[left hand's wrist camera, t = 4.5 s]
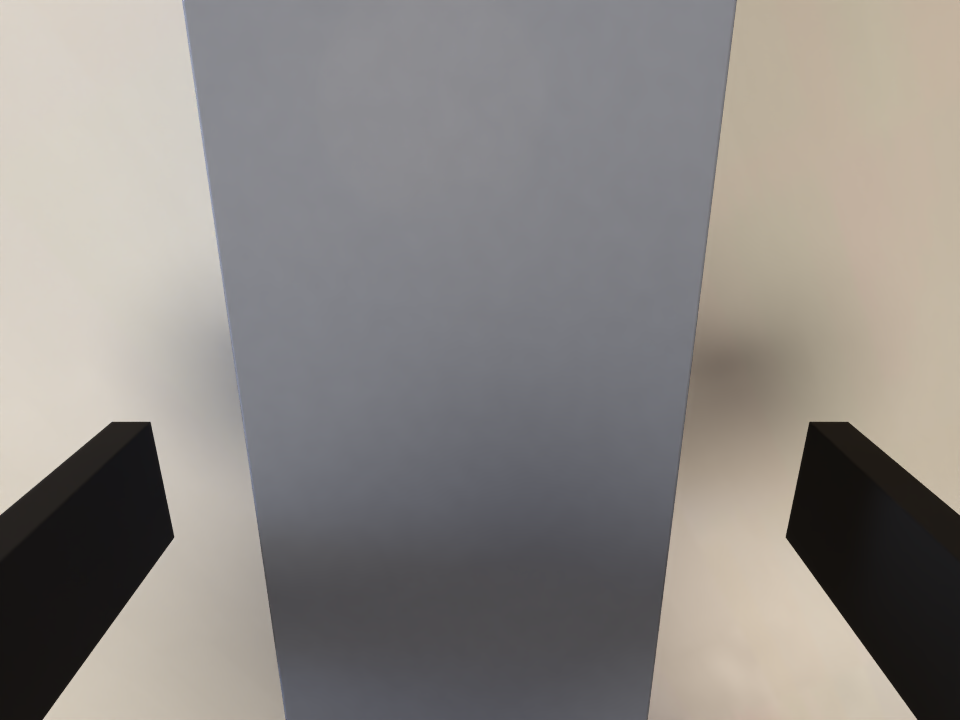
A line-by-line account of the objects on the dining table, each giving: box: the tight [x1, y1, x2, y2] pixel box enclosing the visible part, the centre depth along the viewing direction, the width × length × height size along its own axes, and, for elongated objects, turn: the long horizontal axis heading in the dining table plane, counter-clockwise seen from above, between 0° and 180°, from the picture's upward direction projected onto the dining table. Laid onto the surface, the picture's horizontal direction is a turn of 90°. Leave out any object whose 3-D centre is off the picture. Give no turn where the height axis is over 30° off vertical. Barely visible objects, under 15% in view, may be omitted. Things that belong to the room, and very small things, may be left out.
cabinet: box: [182, 0, 737, 720], centre depth 13 cm, size 18×6×10 cm, turn 0°
